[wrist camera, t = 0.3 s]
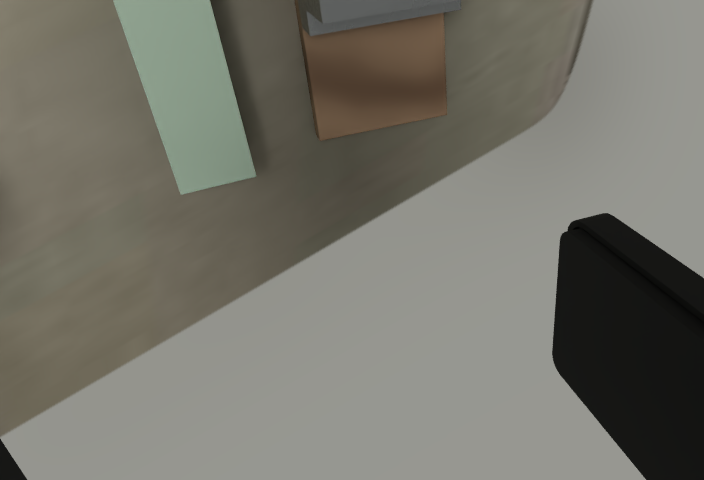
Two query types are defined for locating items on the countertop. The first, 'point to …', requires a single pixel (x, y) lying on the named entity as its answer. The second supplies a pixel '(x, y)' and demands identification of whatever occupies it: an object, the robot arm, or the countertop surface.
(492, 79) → the countertop surface
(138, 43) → the beam
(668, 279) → the robot arm
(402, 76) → the stand
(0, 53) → the countertop surface
